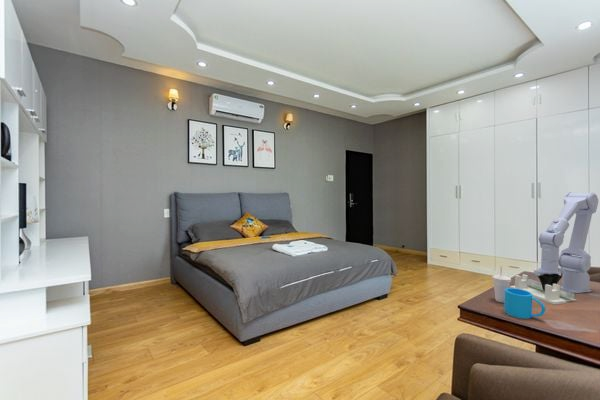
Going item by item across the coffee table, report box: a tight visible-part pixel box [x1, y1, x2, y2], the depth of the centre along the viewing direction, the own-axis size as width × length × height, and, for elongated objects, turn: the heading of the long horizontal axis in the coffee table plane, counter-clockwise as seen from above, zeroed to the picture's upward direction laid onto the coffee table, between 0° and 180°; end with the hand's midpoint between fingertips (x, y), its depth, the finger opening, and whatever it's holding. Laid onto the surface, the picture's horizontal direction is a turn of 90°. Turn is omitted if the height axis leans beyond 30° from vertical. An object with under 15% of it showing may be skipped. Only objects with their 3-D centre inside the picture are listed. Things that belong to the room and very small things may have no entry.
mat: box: [528, 285, 578, 303], centre depth 128 cm, size 7×17×1 cm, turn 13°
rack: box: [509, 273, 567, 305], centre depth 126 cm, size 6×19×7 cm, turn 13°
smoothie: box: [492, 266, 512, 303], centre depth 120 cm, size 6×6×14 cm
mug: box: [503, 287, 546, 319], centre depth 106 cm, size 12×8×8 cm
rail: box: [528, 278, 575, 299], centre depth 128 cm, size 2×18×2 cm, turn 13°
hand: (548, 290), depth 128 cm, fingers closed on rail, 2 cm apart
